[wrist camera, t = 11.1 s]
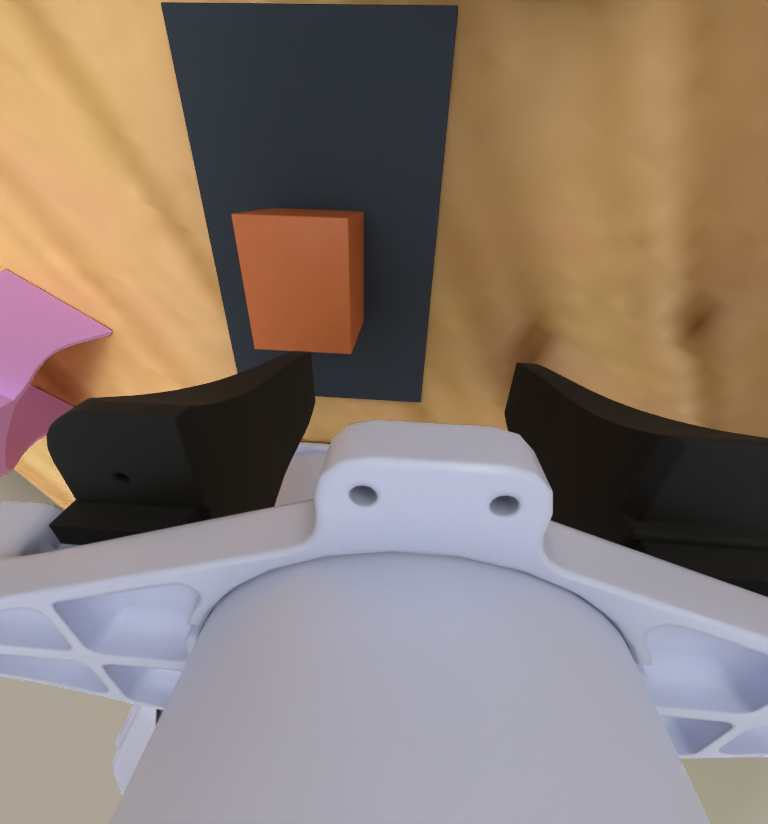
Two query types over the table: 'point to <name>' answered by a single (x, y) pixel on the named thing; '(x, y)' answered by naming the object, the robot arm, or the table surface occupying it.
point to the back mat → (325, 156)
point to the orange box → (302, 277)
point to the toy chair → (32, 361)
